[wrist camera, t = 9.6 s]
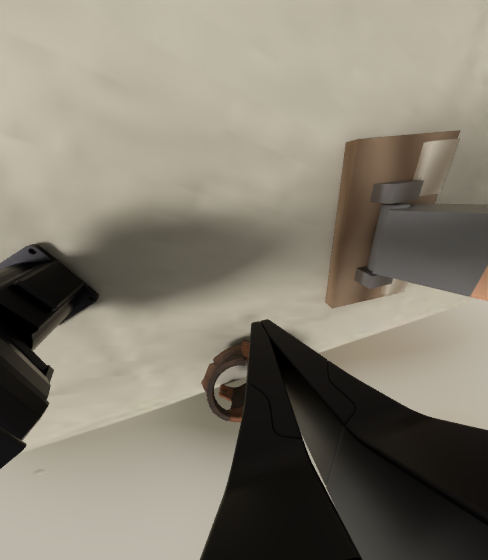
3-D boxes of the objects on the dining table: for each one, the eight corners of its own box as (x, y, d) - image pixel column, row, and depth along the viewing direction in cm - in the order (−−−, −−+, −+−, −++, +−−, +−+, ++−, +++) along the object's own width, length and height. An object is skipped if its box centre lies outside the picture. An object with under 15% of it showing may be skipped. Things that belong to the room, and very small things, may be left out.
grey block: (360, 272, 21) (498, 305, 14) (374, 207, 18) (559, 212, 11) (373, 260, 23) (497, 285, 17) (388, 201, 20) (549, 202, 13)
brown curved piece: (200, 388, 29) (189, 426, 21) (215, 327, 30) (211, 341, 22) (275, 403, 30) (293, 446, 22) (288, 344, 31) (310, 363, 22)
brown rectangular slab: (325, 302, 26) (344, 319, 23) (346, 142, 17) (381, 132, 14) (393, 286, 28) (420, 300, 24) (442, 134, 19) (493, 123, 16)
